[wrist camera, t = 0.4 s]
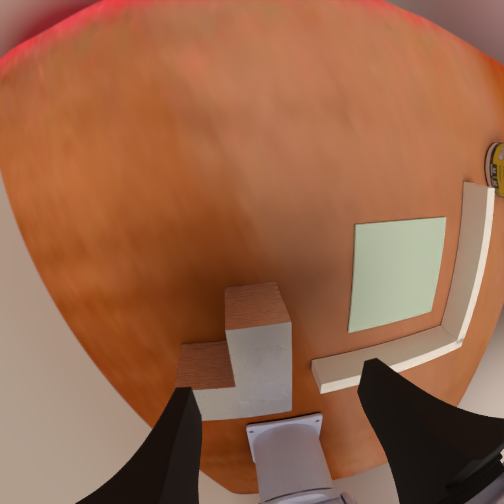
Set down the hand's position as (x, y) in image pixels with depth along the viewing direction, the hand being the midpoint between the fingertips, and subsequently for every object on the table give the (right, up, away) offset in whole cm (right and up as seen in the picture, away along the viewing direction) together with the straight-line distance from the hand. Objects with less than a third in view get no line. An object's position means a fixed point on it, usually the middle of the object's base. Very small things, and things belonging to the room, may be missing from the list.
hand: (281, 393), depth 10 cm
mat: (+11, +4, +10) cm, 15 cm away
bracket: (-3, 0, +10) cm, 10 cm away
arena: (+11, +4, +10) cm, 15 cm away
